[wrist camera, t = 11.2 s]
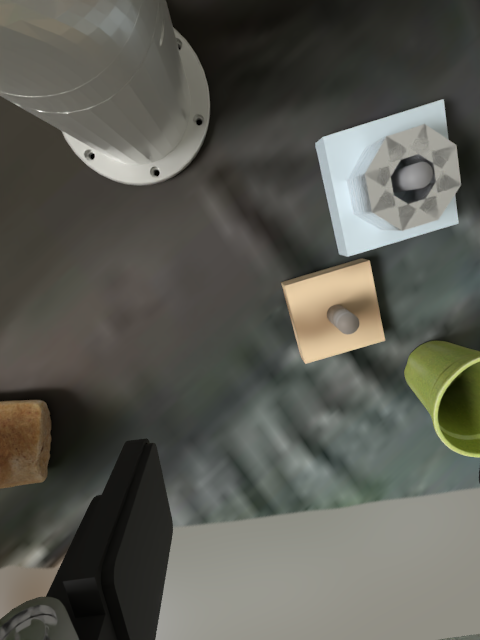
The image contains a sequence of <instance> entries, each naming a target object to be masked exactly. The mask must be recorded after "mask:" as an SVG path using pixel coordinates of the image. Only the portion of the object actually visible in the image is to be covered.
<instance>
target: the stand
mask: <svg viewBox="0 0 480 640" xmlns="http://www.w3.org/2000/svg"><path fill="white" fill-rule="evenodd" d="M281 284H282V287H283V291H284V295H285V299H286V302H287V306H288V310H289V314H290V317H291V321H292V325H293V329H294V332H295V336H296V340H297V344H298V348H299V351H300V355H301V357H302V359H303V361H304V363H305V364H306V363H310V362H313V361H317V360H320V359H324V358H327V357H330V356H334V355H337V354H341V353H344V352H348V351H351V350H354V349H358V348H361V347H365V346H368V345H372V344H375V343H379V342H382V341H385V337H384V332H383V327H382V322H381V316H380V311H379V306H378V301H377V296H376V291H375V285H374V280H373V275H372V270H371V265H370V260H366V259H362V258H361V259H357V260H354V261H351V262H347V263H344V264H341V265H337V266H334V267H331V268H327V269H324V270H321V271H317V272H314V273H311V274H307V275H304V276H301V277H297V278H294V279H291V280H287V281H284V282H281Z"/></svg>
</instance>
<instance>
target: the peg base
mask: <svg viewBox="0 0 480 640" xmlns="http://www.w3.org/2000/svg"><path fill="white" fill-rule="evenodd" d="M423 124H426V125H427V126H429V127H430V128H432V129H433V130H435V131H436V132H438V133H439V134H441V135H442V136H444V137H445V138H447V139H448V131H447V123H446V114H445V106H444V99H442V100H439V101H436V102H433V103H430V104H426V105H423V106H420V107H417V108H414V109H410V110H407V111H404V112H401V113H398V114H395V115H391V116H388V117H385V118H382V119H379V120H375V121H372V122H369V123H366V124H363V125H359V126H356V127H353V128H350V129H347V130H344V131H340V132H337V133H334V134H331V135H328V136H324V137H322V138H321V139H320V140H319V141H318V142H317V143H315V145H316V150H317V154H318V159H319V164H320V168H321V173H322V178H323V182H324V187H325V191H326V196H327V201H328V205H329V210H330V215H331V219H332V224H333V229H334V233H335V238H336V242H337V247H338V252H339V254H340V255H344V256H347V257H348V256H352V255H355V254H358V253H362V252H365V251H368V250H372V249H375V248H378V247H382V246H385V245H388V244H392V243H395V242H398V241H402V240H405V239H408V238H412V237H415V236H418V235H422V234H425V233H428V232H432V231H435V230H438V229H442V228H445V227H448V226H452V225H455V224H458V223H459V222H458V214H457V206H456V197H455V195H454V197H453V198H452V200H451V201H450V203H449V204H448V206H447V208H446V209H445V211H444V212H443V214H442V215H441V217H440V218H439V220H436V221H433V222H430V223H426V224H423V225H420V226H417V227H413V228H410V229H407V230H404V231H389V230H380V229H378V228H376V227H374V226H373V225H371V224H369V223H368V222H366V221H364V220H363V219H361V218H359V217H358V216H356V215H354V214H353V210H352V205H351V200H350V195H349V190H348V185H347V181H346V180H347V179H348V177H349V175H350V173H351V172H352V170H353V168H354V166H355V164H356V163H357V161H358V159H359V157H360V156H361V154H362V152H363V150H364V148H365V147H367V146H369V145H371V144H373V143H375V142H376V141H378V140H380V139H382V138H384V137H386V136H389V135H393V134H396V133H399V132H402V131H405V130H408V129H411V128H415V127H418V126H421V125H423ZM448 140H449V139H448ZM432 177H433V170H432V167H431V166H430V165H429V164H428V163H426V162H418V163H415V164H412V165H408V166H405V167H402V168H400V167H399V166H397V167H396V169H395V170H394V172H393V174H392V175H391V182H392V188H393V193H394V196H396V197H398V198H399V199H402V197H403V196H404V194H405V193H406V191H408V190H414V189H419V188H423V187H425V186H427V185H428V184H429V183H430V182H431V180H432Z"/></svg>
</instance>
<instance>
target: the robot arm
mask: <svg viewBox="0 0 480 640" xmlns="http://www.w3.org/2000/svg"><path fill="white" fill-rule="evenodd" d="M178 47H180V48H181V50H179V48H178ZM0 96H2V97H3V98H5V99H7V100H9V101H10V102H12V103H14V104H16V105H17V106H19V107H21V108H23V109H24V110H26V111H28V112H30V113H32V114H33V115H35V116H37V117H39V118H40V119H42V120H44V121H46V122H47V123H49V124H51V125H53V126H54V127H56V128H58V129H60V130H61V131H62V133H63V135H64V137H65V139H66V141H67V142H68V144H69V145H70V147H71V148H72V149H73V151H74V152H75V154H76V155H77V156H78V157H79V158H80V159H81V160H82V161H83V162H84V163H85V164H86V165H87V166H89V167H90V168H92V169H93V170H94V171H96V172H97V173H99V174H100V175H102V176H105V177H107V178H109V179H111V180H113V181H116V182H119V183H122V184H129V185H135V186H142V185H153V184H157V183H161V182H164V181H166V180H168V179H170V178H172V177H174V176H176V175H177V174H179V173H180V172H181V171H182V170H184V169H185V168H186V167H187V166H188V165H189V164H190V163H191V162H192V160H193V159H194V158H195V157H196V155H197V153H198V152H199V150H200V148H201V146H202V145H203V142H204V139H205V136H206V133H207V130H208V125H209V119H210V96H209V89H208V84H207V80H206V77H205V73H204V70H203V67H202V65H201V63H200V61H199V59H198V57H197V55H196V53H195V52H194V50H193V49H192V47H191V46H190V45H189V43H188V42H187V40H186V39H185V38H184V37H183V36H182V35H181V34H180V33H179V32H178V31H177V30H176V29H175V28H174V27H173V25H172V22H171V18H170V14H169V10H168V6H167V3H166V0H0ZM198 120H201V121H202V125H197V124H196V122H197V121H198ZM92 154H95V158H94V159H93V160H92V159H91V155H92ZM156 170H158V171H159V172H160V174H159V176H155V174H154V173H155V171H156ZM479 482H480V470H479ZM172 533H173V523H172V517H171V512H170V507H169V503H168V498H167V493H166V489H165V484H164V479H163V475H162V470H161V465H160V461H159V456H158V451H157V447H156V444H155V443H149V441H148V439H139V440H132V441H127V442H126V443H125V444H124V446H123V449H122V451H121V453H120V455H119V458H118V460H117V462H116V464H115V467H114V469H113V471H112V473H111V475H110V478H109V480H108V482H107V484H106V487H105V489H104V491H103V493H102V495H98V496H96V497H94V498H93V500H92V501H91V503H90V505H89V507H88V509H87V511H86V513H85V516H84V518H83V520H82V522H81V524H80V526H79V528H78V530H77V532H76V534H75V537H74V539H73V541H72V543H71V545H70V547H69V549H68V551H67V553H66V555H65V558H64V560H63V562H62V564H61V566H60V568H59V570H58V572H57V575H56V577H55V579H54V581H53V583H52V585H51V587H50V589H49V591H48V593H47V596H46V597H38V598H35V599H32V600H29V601H26V602H25V603H23V604H21V605H19V606H18V607H16V608H14V609H12V610H11V611H10V612H9V613H8V614H6V615H5V616H4V617H3V618H1V619H0V640H155V637H156V631H157V625H158V619H159V613H160V607H161V600H162V595H163V588H164V582H165V576H166V570H167V564H168V558H169V552H170V546H171V540H172ZM440 640H480V634H476V635H469V636H462V637H454V638H447V639H440Z"/></svg>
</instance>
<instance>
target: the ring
mask: <svg viewBox="0 0 480 640" xmlns="http://www.w3.org/2000/svg"><path fill="white" fill-rule="evenodd" d="M456 146H457V145H456V144H454V143H453V142H451V141H450V140H448V139H447V138H445V137H444V136H442V135H441V134H439V133H438V132H436V131H435V130H433V129H432V128H430V127H429V126H427V125H426V124H423V125H421V126H418V127H415V128H411V129H408V130H405V131H402V132H399V133H396V134H393V135H389V136H386V137H384V138H382V139H380V140H378V141H376V142H375V143H373V144H371V145H369V146H367V147H365V148H364V150H363V152H362V154H361V156H360V157H359V159H358V161H357V163H356V164H355V166H354V168H353V170H352V172H351V173H350V175H349V177H348V179H347V180H346V181H347V185H348V190H349V195H350V200H351V205H352V210H353V214H354V215H356V216H358V217H359V218H361V219H363V220H364V221H366V222H368V223H369V224H371V225H373V226H374V227H376V228H378V229H380V230H389V231H404V230H407V229H410V228H413V227H417V226H420V225H423V224H426V223H430V222H433V221H436V220H439V218H440V217H441V215H442V214H443V212H444V211H445V209H446V208H447V206H448V204H449V203H450V201H451V200H452V198H453V197H454V195H455V194H456V192H457V191H458V189H459V187H460V186H461V180H460V172H459V163H458V155H457V147H456ZM418 162H426V163H428V164H429V165H430V166H431V167H432V170H433V177H432V180H431V182H430V183H429V184H428V185H427V186H425V187H423V188H419V189H414V190H408V191H406V193H405V194H404V196H403V197H402V199H399V198H398V197H396V196H394V193H393V188H392V182H391V175H392V174H393V172H394V170H395V169H396V167H397V166H399V167H400V168H402V167H405V166H408V165H412V164H415V163H418Z"/></svg>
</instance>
